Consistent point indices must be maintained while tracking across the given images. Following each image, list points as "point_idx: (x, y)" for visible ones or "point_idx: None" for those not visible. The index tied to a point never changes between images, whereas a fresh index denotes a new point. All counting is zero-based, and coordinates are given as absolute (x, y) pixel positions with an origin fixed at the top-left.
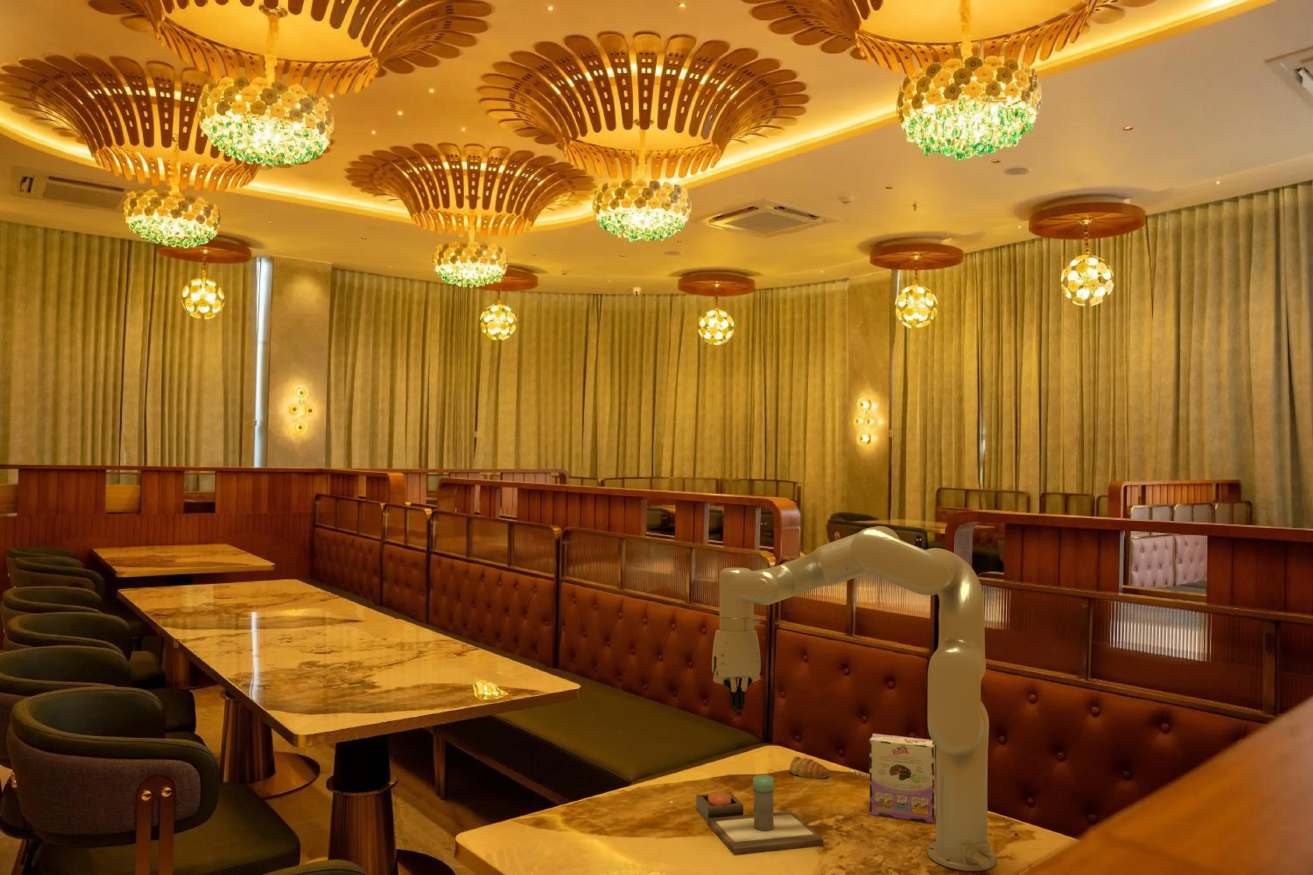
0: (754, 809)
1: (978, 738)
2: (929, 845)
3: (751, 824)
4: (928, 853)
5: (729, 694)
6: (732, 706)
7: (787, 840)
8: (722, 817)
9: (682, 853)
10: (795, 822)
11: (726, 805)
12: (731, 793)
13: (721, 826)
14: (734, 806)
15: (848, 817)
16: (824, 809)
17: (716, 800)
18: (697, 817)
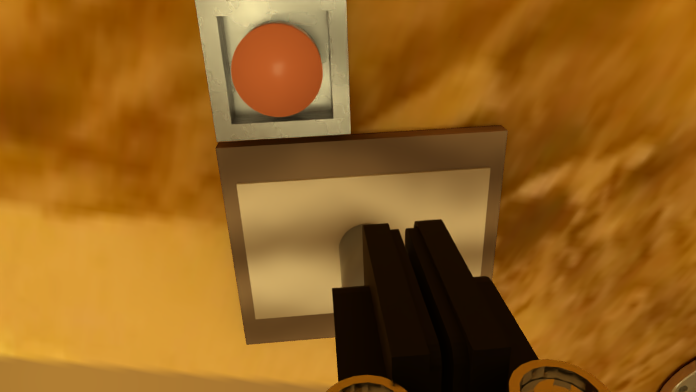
0: (341, 280)
1: None
2: (691, 376)
3: (339, 221)
4: (664, 389)
5: (337, 361)
6: (365, 263)
7: None
8: (268, 147)
9: (115, 312)
10: (471, 227)
11: (288, 131)
12: (345, 7)
13: (245, 222)
14: (317, 134)
15: (658, 163)
16: (635, 90)
17: (255, 109)
18: (195, 80)
